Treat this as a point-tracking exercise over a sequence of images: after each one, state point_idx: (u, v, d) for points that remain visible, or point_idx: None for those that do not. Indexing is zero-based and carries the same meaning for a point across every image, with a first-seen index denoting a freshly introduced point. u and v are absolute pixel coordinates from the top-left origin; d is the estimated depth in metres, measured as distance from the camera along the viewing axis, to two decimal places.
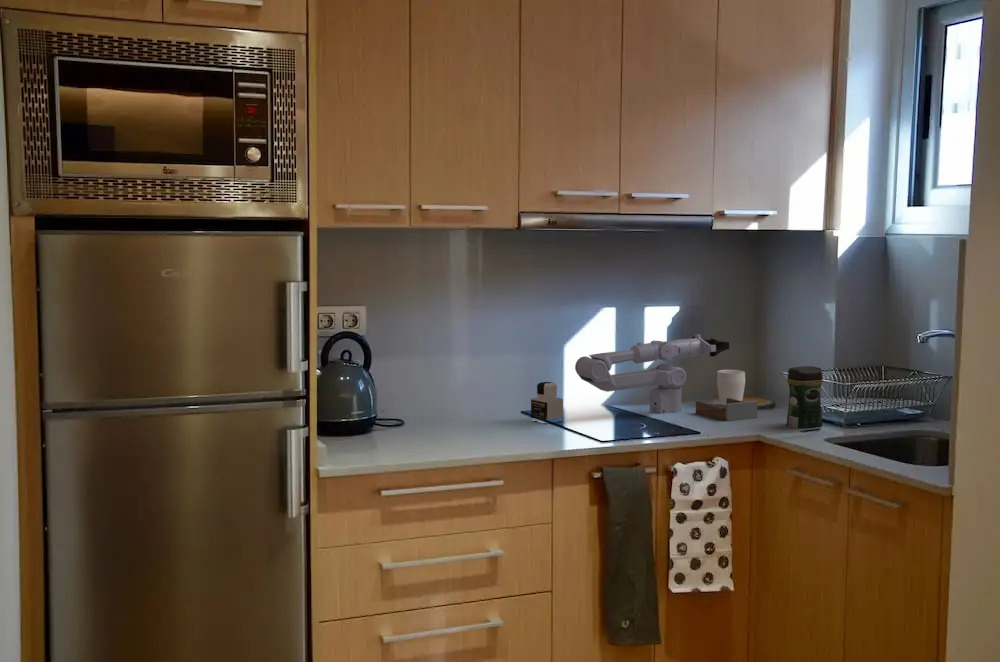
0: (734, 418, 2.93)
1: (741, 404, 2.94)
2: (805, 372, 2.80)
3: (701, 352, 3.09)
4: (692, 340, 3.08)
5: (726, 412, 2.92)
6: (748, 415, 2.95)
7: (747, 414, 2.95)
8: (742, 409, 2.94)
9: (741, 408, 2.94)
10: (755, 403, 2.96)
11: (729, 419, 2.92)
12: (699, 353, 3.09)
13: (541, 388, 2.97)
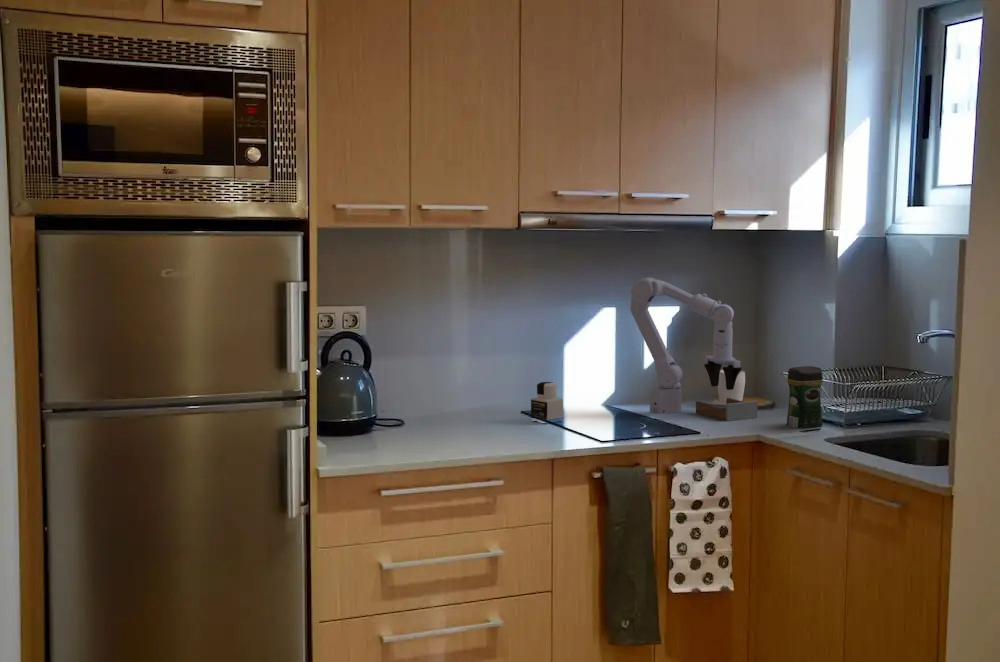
0: (734, 418, 2.93)
1: (741, 404, 2.94)
2: (805, 372, 2.80)
3: (723, 359, 2.98)
4: None
5: (726, 412, 2.92)
6: (748, 415, 2.95)
7: (747, 414, 2.95)
8: (742, 409, 2.94)
9: (741, 408, 2.94)
10: (755, 403, 2.96)
11: (729, 419, 2.92)
12: (722, 357, 2.98)
13: (541, 388, 2.97)
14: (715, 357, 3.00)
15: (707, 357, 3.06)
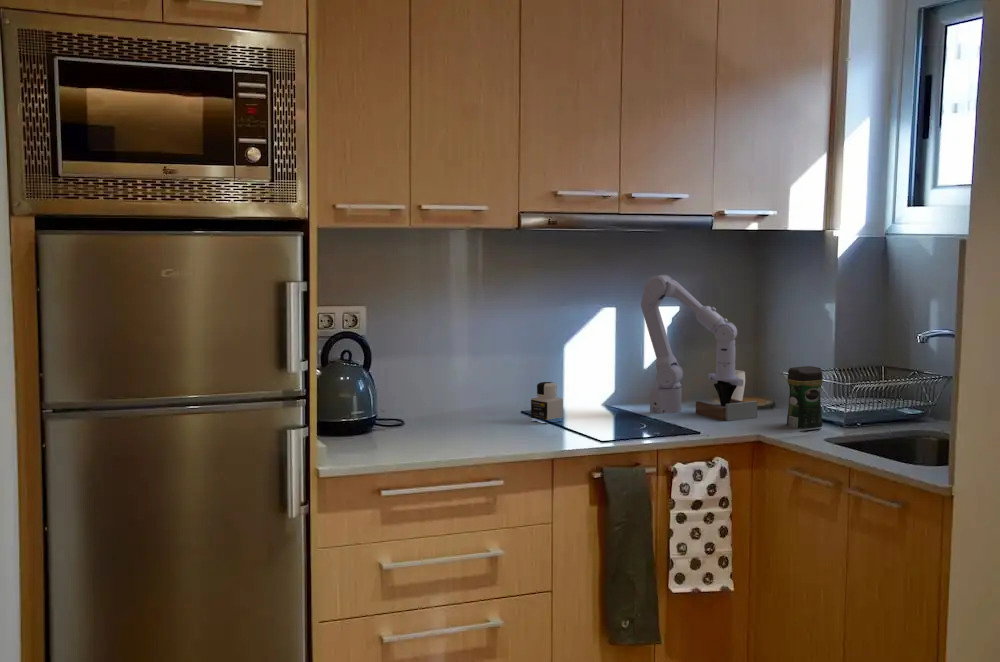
0: (734, 418, 2.93)
1: (741, 404, 2.94)
2: (805, 372, 2.80)
3: (726, 377, 2.98)
4: None
5: (726, 412, 2.92)
6: (748, 415, 2.95)
7: (747, 414, 2.95)
8: (742, 409, 2.94)
9: (741, 408, 2.94)
10: (755, 403, 2.96)
11: (729, 419, 2.92)
12: (725, 375, 2.98)
13: (541, 388, 2.97)
14: (718, 375, 2.99)
15: (710, 375, 3.05)
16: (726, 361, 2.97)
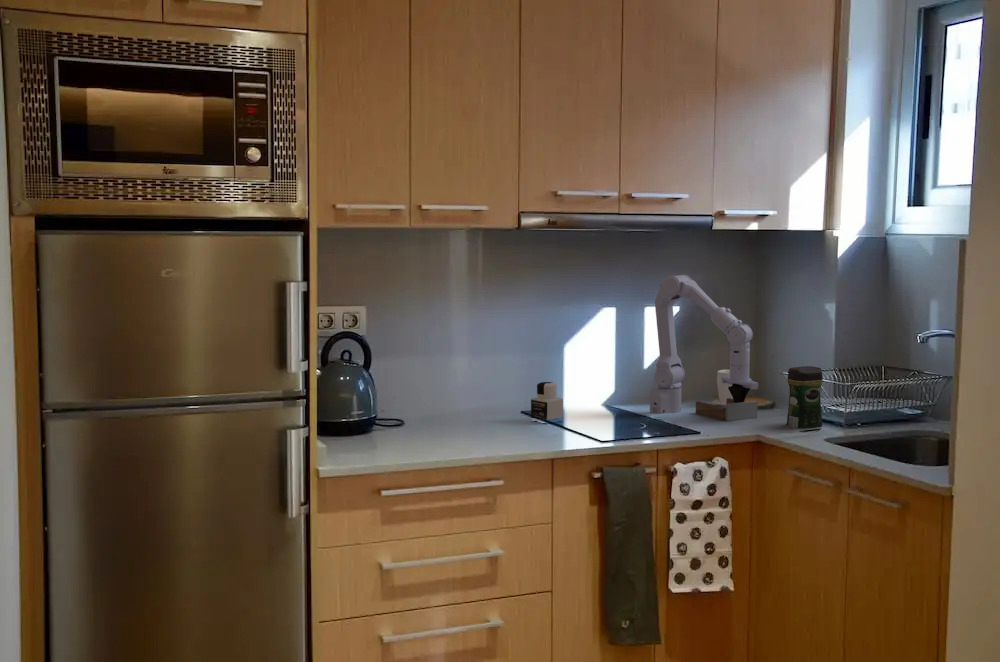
0: (734, 418, 2.93)
1: (741, 404, 2.93)
2: (805, 372, 2.80)
3: (740, 380, 2.92)
4: None
5: (726, 412, 2.92)
6: (748, 415, 2.95)
7: (747, 414, 2.95)
8: (742, 409, 2.94)
9: (742, 408, 2.94)
10: (755, 403, 2.96)
11: (729, 419, 2.92)
12: (739, 378, 2.92)
13: (541, 388, 2.97)
14: (732, 378, 2.93)
15: (723, 378, 2.99)
16: (738, 364, 2.91)
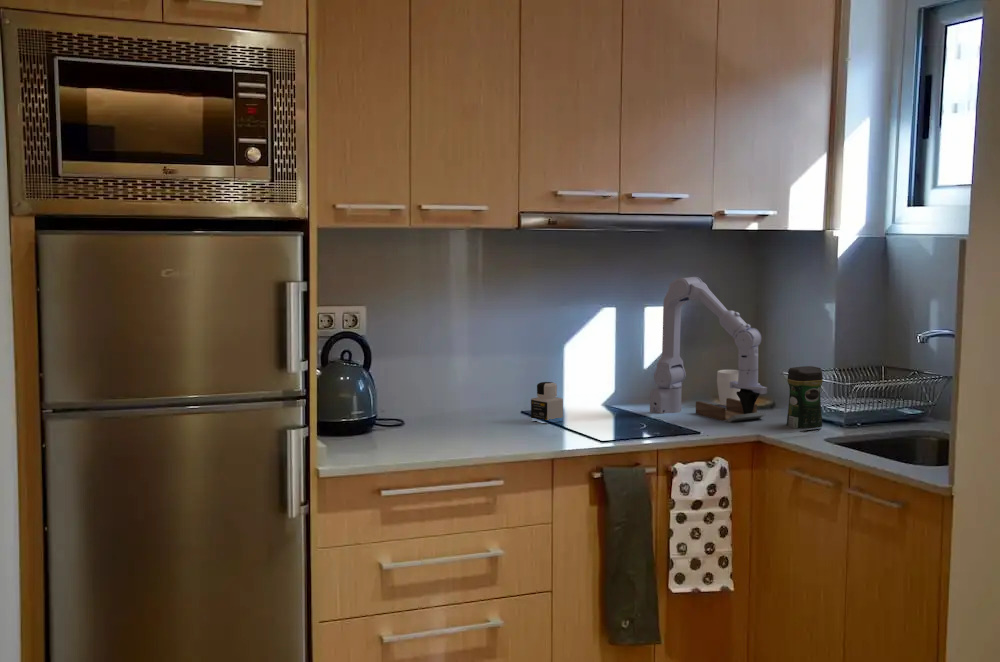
0: None
1: (748, 417, 2.91)
2: (805, 372, 2.80)
3: (749, 385, 2.88)
4: None
5: (730, 419, 2.90)
6: None
7: (748, 419, 2.94)
8: (746, 418, 2.92)
9: (747, 418, 2.92)
10: (762, 415, 2.93)
11: None
12: (747, 383, 2.88)
13: (541, 388, 2.97)
14: (740, 383, 2.90)
15: (732, 383, 2.96)
16: (746, 368, 2.88)
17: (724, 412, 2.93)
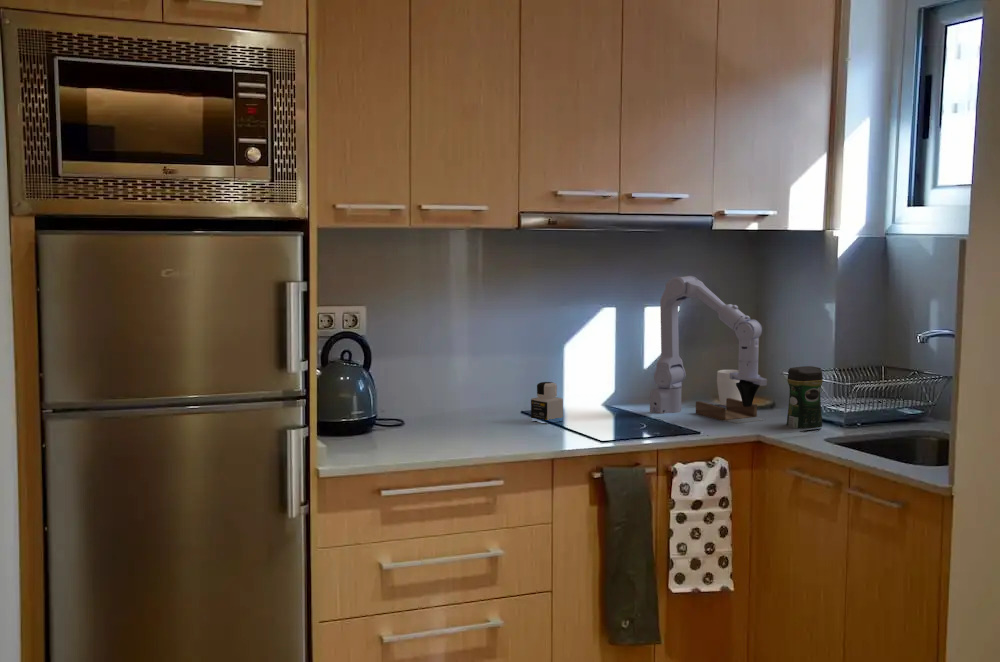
0: None
1: None
2: (805, 372, 2.80)
3: (749, 376, 2.88)
4: None
5: None
6: None
7: None
8: None
9: None
10: None
11: None
12: (747, 374, 2.88)
13: (541, 388, 2.97)
14: (740, 375, 2.89)
15: (731, 374, 2.96)
16: (746, 360, 2.88)
17: (724, 412, 2.93)
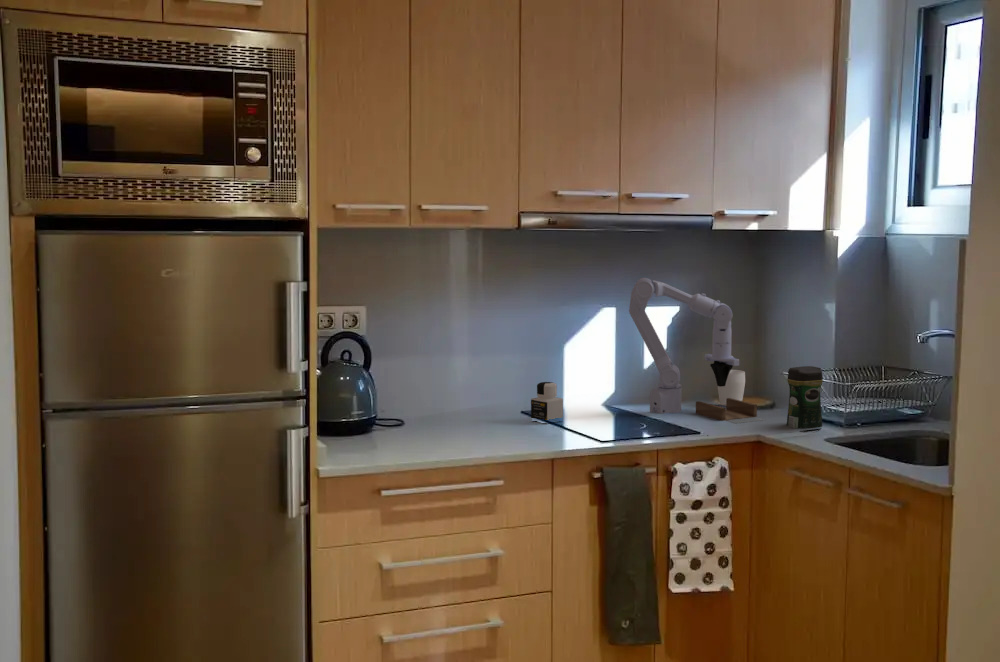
0: None
1: None
2: (805, 372, 2.80)
3: (722, 357, 3.02)
4: None
5: None
6: None
7: None
8: None
9: None
10: None
11: None
12: (721, 355, 3.02)
13: (541, 388, 2.97)
14: (714, 355, 3.03)
15: (706, 355, 3.10)
16: (725, 341, 3.01)
17: (724, 412, 2.93)
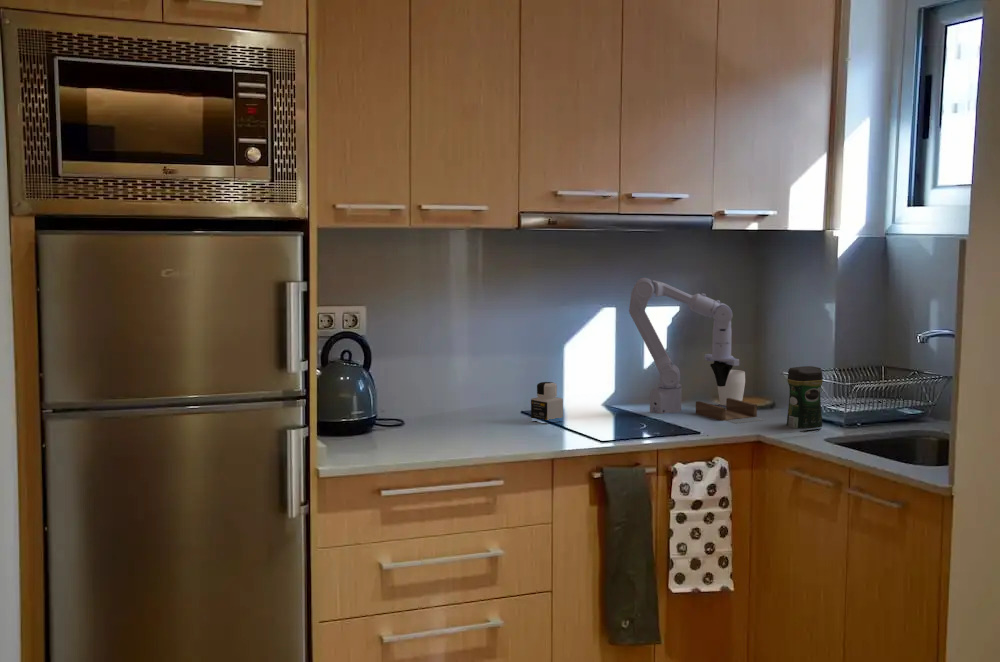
0: None
1: None
2: (805, 372, 2.80)
3: (722, 357, 3.02)
4: None
5: None
6: None
7: None
8: None
9: None
10: None
11: None
12: (721, 355, 3.02)
13: (541, 388, 2.97)
14: (714, 355, 3.03)
15: (706, 355, 3.10)
16: (725, 341, 3.01)
17: (724, 412, 2.93)
